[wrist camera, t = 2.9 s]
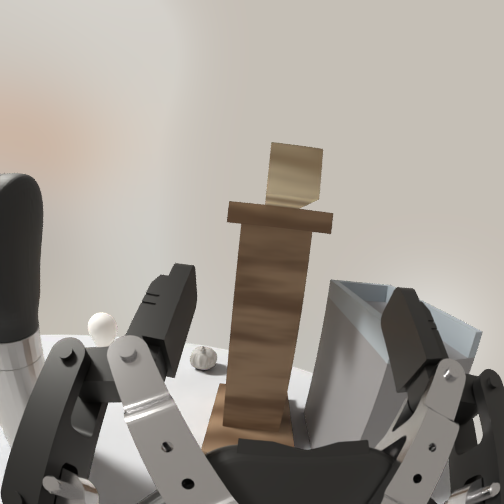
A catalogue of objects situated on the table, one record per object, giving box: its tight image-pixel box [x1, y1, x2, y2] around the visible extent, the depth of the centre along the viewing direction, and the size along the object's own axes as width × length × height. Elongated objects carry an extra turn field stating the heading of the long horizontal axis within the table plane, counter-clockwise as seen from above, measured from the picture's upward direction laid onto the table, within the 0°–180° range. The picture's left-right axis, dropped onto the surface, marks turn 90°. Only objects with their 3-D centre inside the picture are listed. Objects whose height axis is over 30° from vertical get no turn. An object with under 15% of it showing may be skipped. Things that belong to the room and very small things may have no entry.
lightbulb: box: [88, 312, 118, 347], centre depth 48 cm, size 6×6×11 cm
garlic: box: [190, 346, 217, 370], centre depth 55 cm, size 6×5×5 cm
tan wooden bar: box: [265, 142, 323, 209], centre depth 30 cm, size 26×3×3 cm, turn 178°
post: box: [201, 201, 333, 454], centre depth 36 cm, size 18×12×32 cm, turn 178°
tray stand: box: [304, 280, 482, 449], centre depth 30 cm, size 22×10×24 cm, turn 178°
